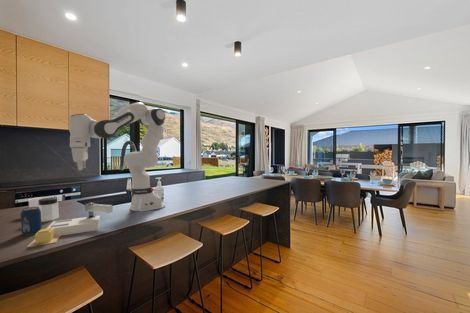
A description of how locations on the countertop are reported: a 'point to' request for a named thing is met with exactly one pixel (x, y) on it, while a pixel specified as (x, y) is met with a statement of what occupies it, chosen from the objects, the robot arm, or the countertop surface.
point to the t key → (98, 208)
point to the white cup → (34, 201)
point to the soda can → (30, 220)
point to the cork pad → (44, 242)
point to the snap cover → (44, 235)
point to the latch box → (75, 225)
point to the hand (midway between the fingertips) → (82, 169)
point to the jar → (49, 209)
